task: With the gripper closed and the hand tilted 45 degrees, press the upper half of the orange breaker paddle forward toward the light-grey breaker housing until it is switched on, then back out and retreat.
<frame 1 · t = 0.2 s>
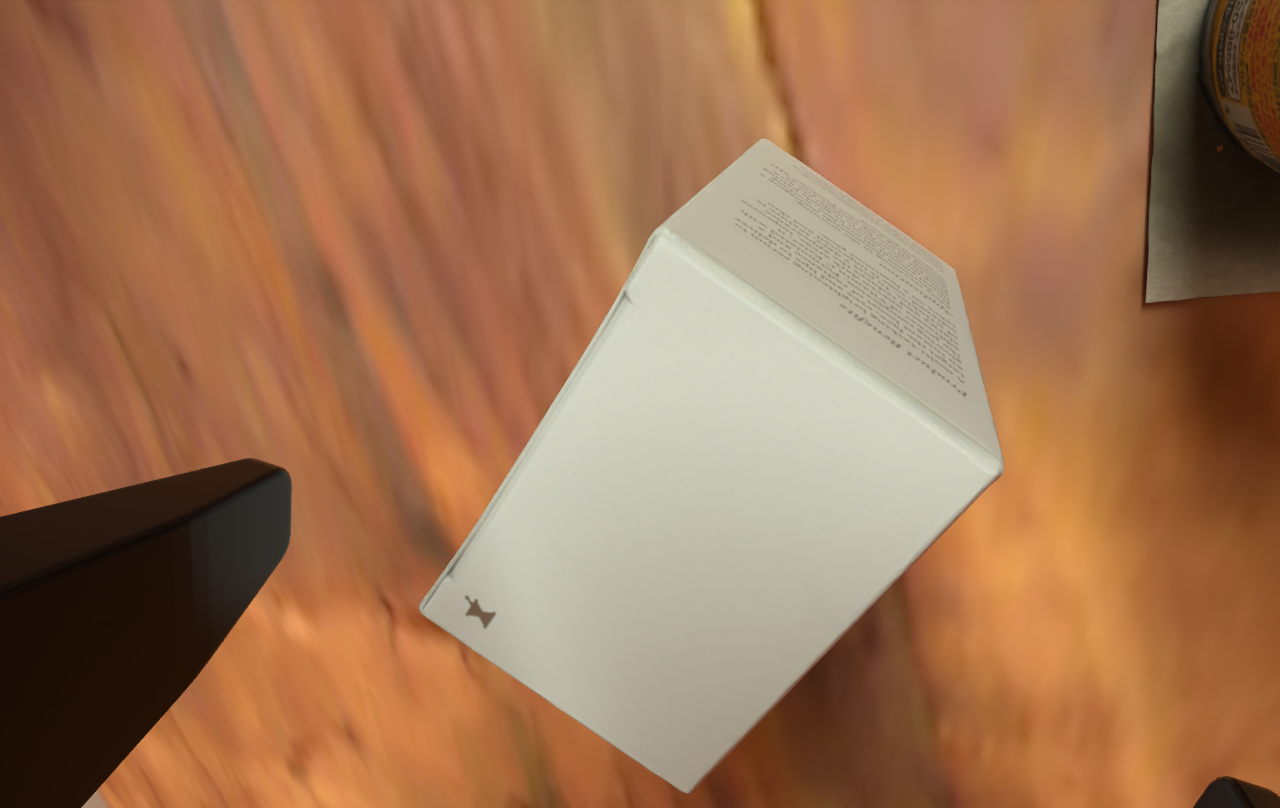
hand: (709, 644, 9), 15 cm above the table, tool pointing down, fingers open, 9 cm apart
small box: (765, 329, 23), on the table
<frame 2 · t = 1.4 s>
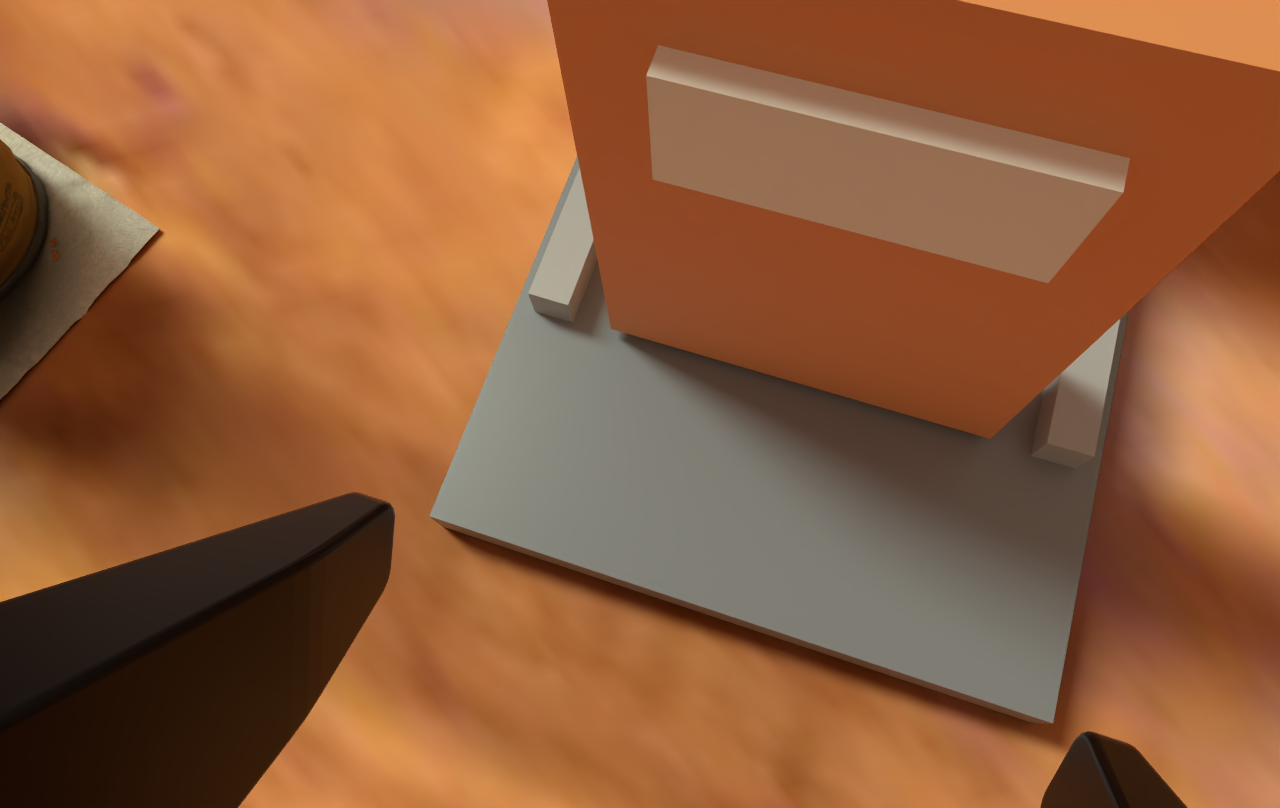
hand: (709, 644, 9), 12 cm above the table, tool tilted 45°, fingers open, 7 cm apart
breaker panel: (798, 367, 23), on the table
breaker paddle: (845, 221, 16), point 8 cm above the table, slide at 0.0 cm
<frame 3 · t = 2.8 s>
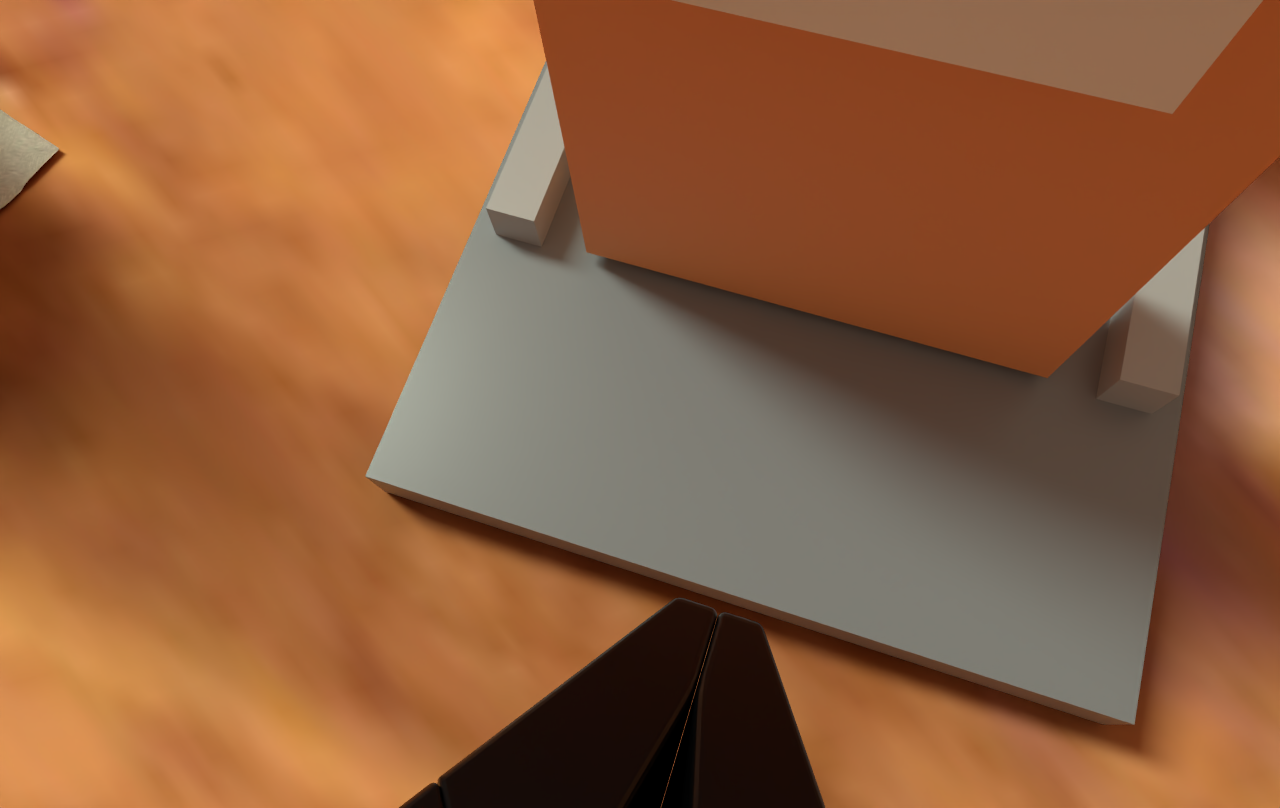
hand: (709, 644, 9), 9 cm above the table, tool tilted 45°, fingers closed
breaker panel: (811, 301, 19), on the table
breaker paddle: (880, 69, 12), point 8 cm above the table, slide at 0.0 cm
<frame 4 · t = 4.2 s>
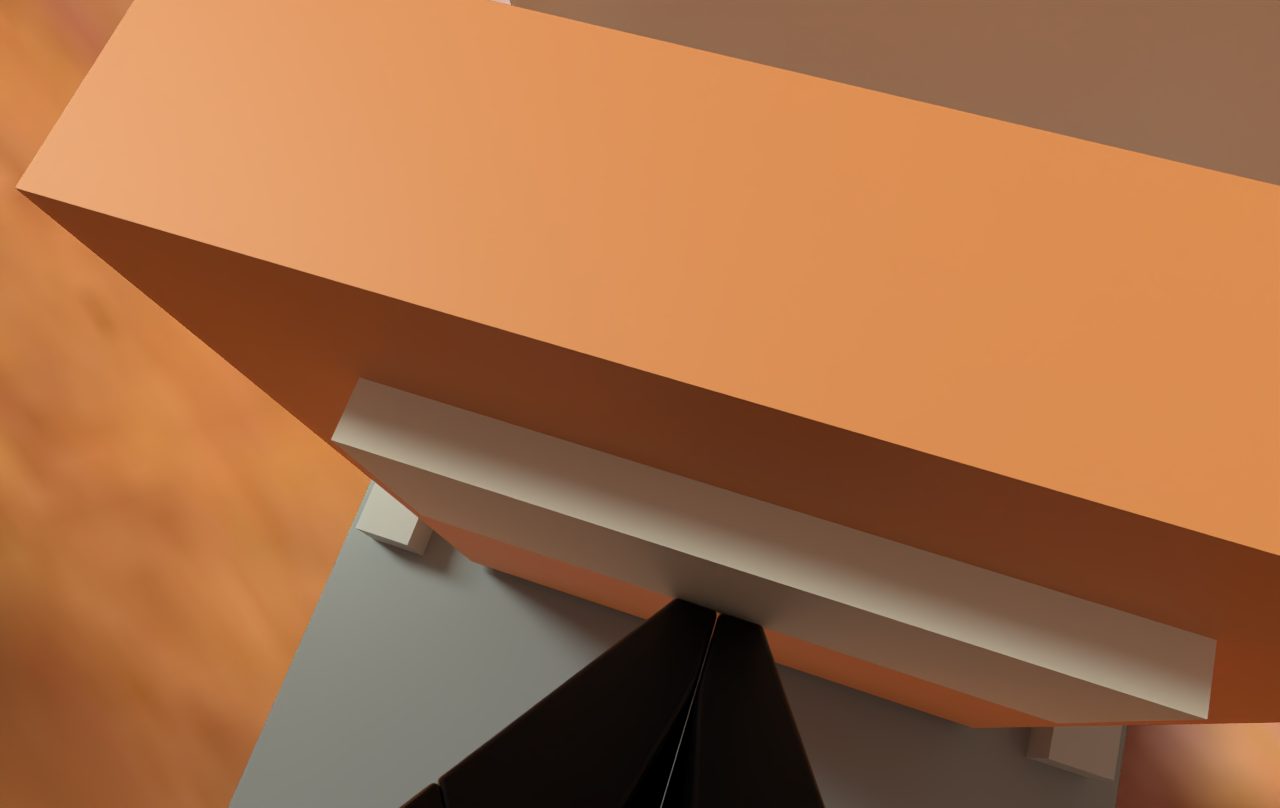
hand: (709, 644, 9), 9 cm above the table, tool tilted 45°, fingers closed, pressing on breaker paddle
breaker panel: (722, 605, 17), on the table
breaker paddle: (747, 526, 10), point 8 cm above the table, slide at 0.2 cm, touching gripper
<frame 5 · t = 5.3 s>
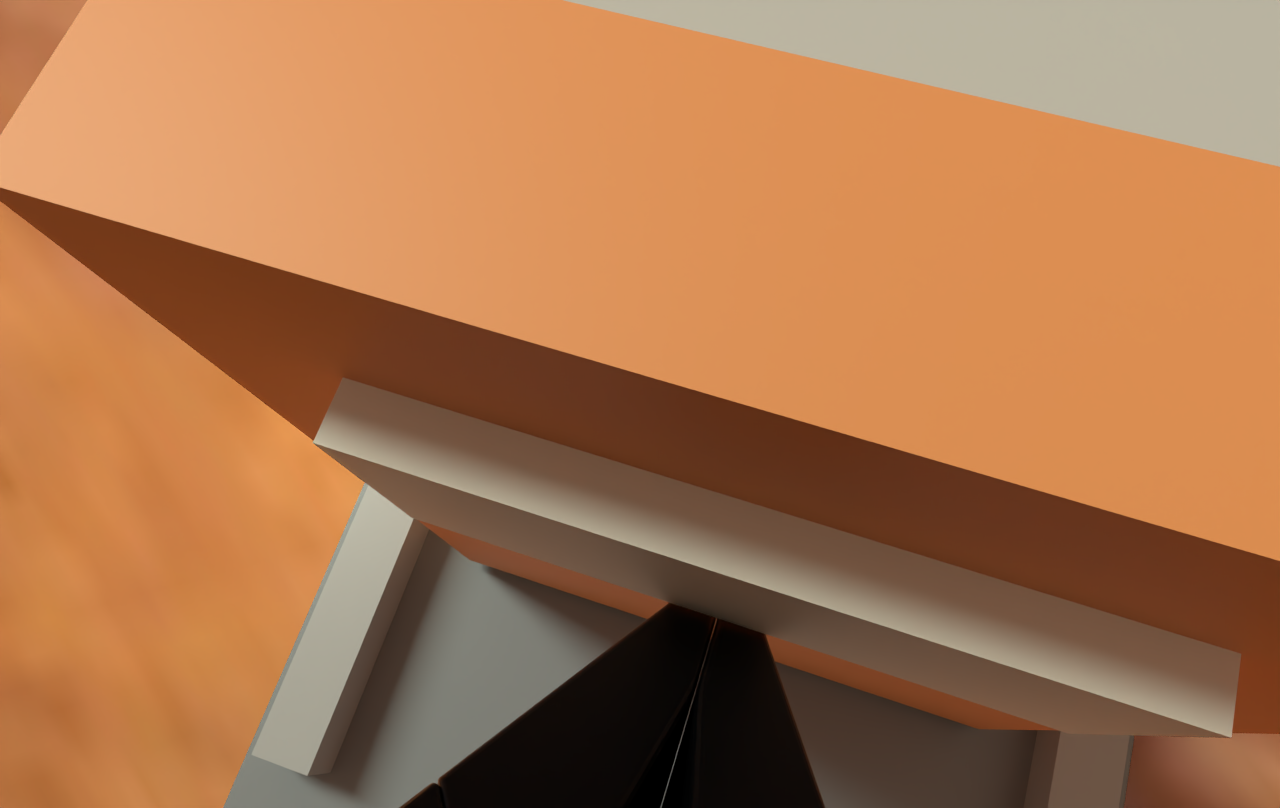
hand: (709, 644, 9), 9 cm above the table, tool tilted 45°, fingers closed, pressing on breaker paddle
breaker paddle: (748, 527, 10), point 8 cm above the table, slide at 4.0 cm, touching gripper
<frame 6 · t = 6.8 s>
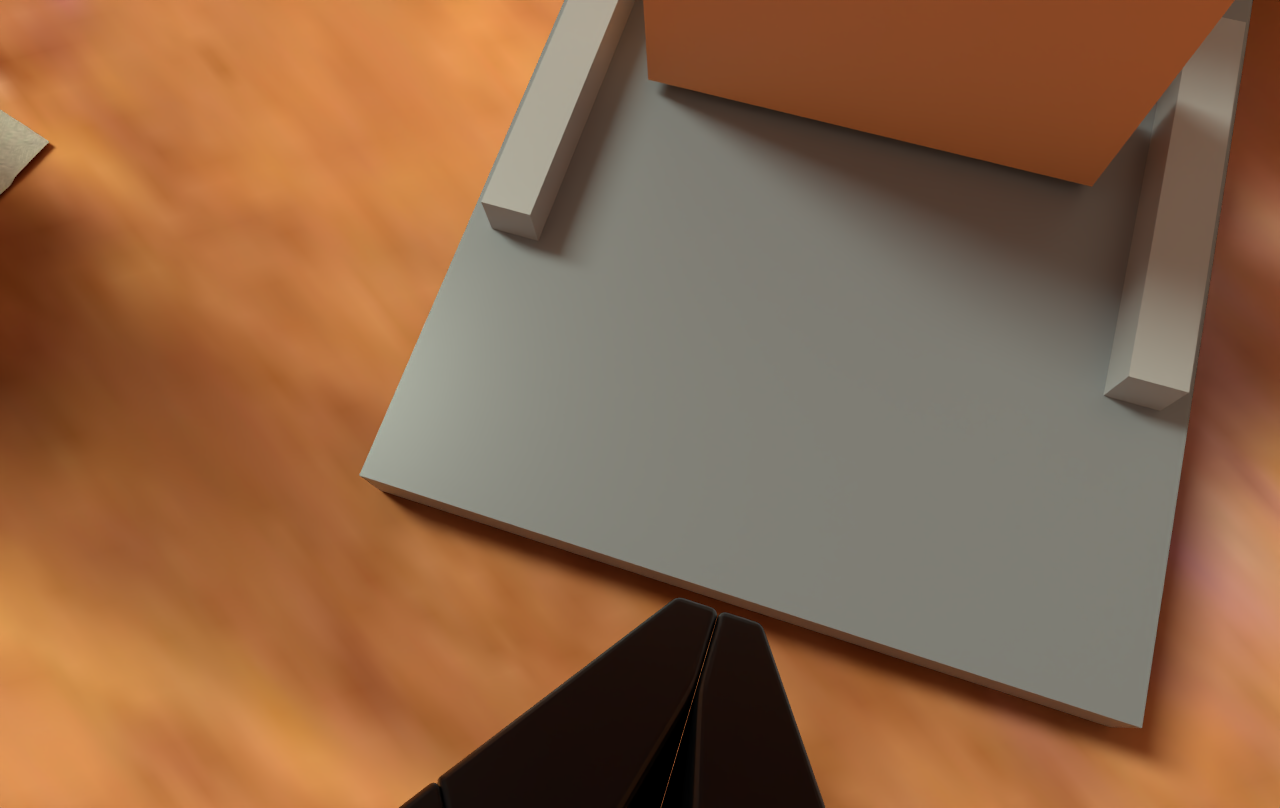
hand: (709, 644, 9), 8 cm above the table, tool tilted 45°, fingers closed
breaker panel: (813, 296, 19), on the table
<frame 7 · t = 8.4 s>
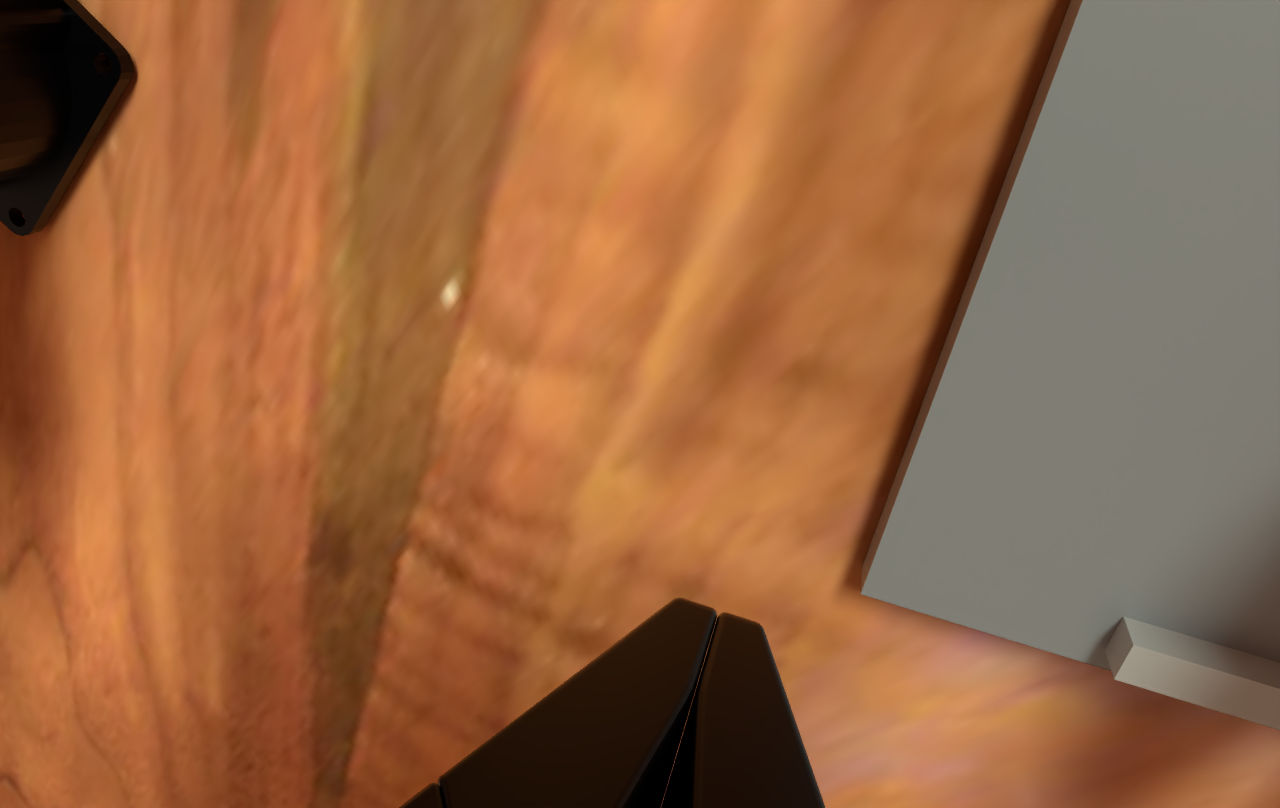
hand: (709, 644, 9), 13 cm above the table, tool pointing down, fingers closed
breaker panel: (1273, 390, 19), on the table
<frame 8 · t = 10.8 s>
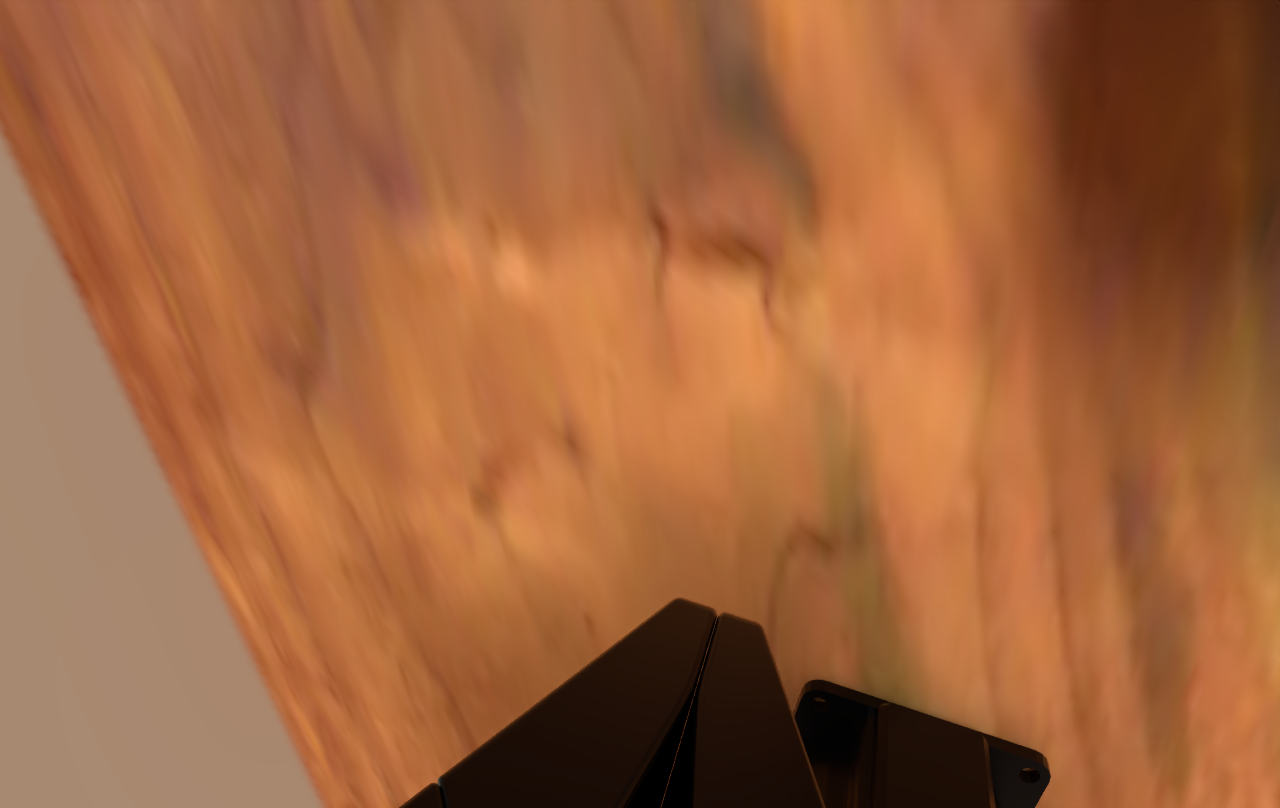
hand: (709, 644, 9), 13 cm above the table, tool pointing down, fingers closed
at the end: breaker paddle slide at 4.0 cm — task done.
